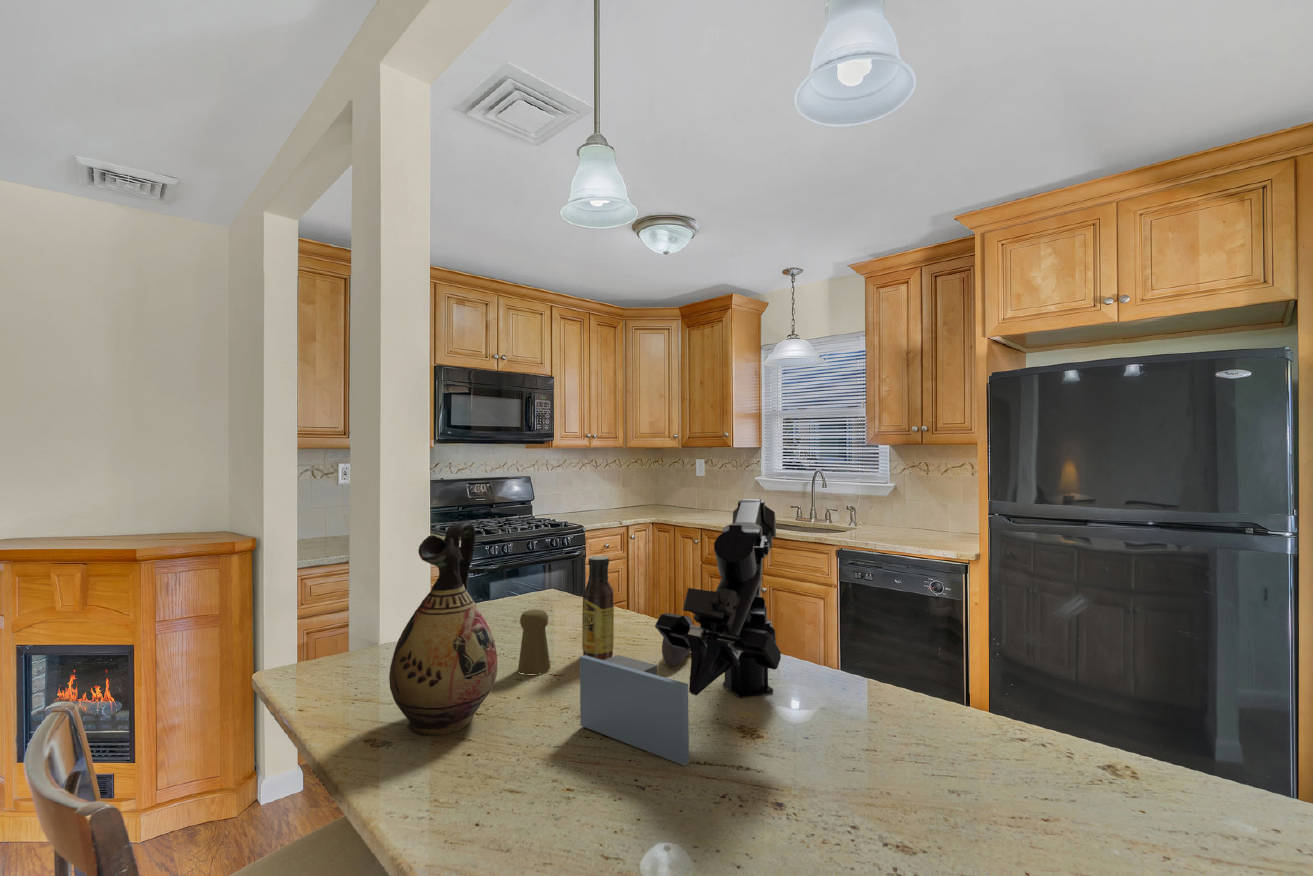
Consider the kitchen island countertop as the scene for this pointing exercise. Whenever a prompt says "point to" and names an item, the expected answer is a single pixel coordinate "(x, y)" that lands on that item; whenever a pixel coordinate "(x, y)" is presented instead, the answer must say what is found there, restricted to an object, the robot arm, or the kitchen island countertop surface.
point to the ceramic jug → (444, 644)
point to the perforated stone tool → (674, 651)
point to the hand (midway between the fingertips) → (692, 693)
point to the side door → (635, 708)
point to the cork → (534, 643)
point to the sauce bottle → (598, 611)
